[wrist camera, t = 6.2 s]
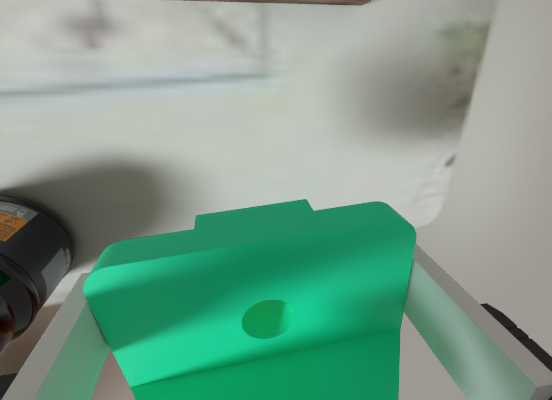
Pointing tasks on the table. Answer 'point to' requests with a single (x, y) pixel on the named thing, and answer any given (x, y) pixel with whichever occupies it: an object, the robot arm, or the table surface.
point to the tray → (300, 1)
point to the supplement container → (29, 262)
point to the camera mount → (260, 304)
